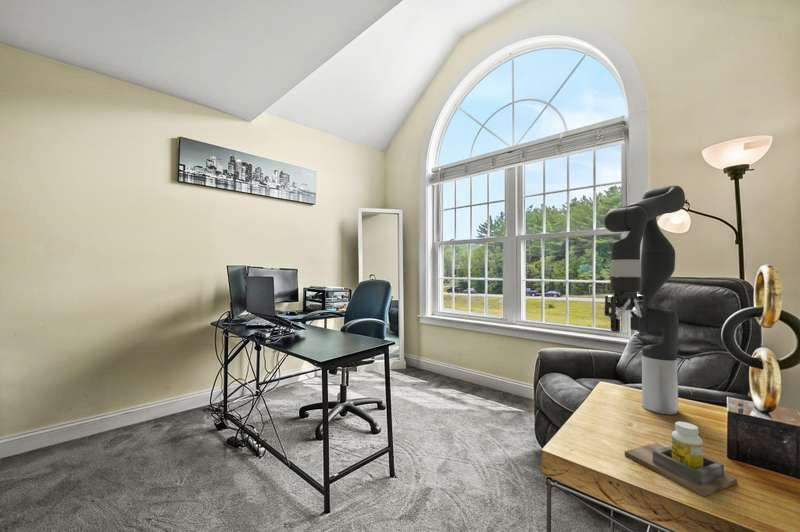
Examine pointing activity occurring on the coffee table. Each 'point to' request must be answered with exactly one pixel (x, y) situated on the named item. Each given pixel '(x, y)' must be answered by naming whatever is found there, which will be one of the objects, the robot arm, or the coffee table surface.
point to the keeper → (683, 469)
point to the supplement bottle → (687, 445)
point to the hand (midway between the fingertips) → (625, 330)
